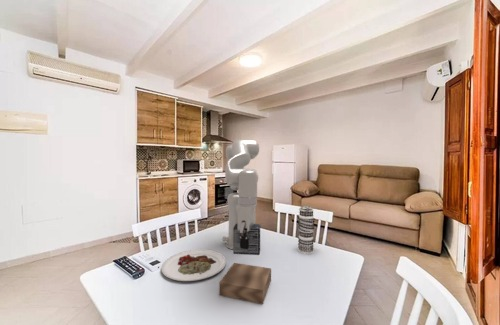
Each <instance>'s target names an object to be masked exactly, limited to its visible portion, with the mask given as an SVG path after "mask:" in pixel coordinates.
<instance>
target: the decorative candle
mask: <svg viewBox="0 0 500 325" xmlns="http://www.w3.org/2000/svg"><path fill="white" fill-rule="evenodd" d="M298 210H299V211H298V212H299V214H298V216H297V219H298V220H297V222H298V223H297V225H298V229H297V230H298V238H297V239H298V244H297V245H298V246H297V249H298V252H299V253H301V254H305V255H311V254H313V253H314V231H315V230H314V229H315V227H314V226H315V224H314V223H315V220H316V219H315V218H314V211H315V210H314V209H313V208H312V207H311V206H308V205H303V206H301V207H299V209H298Z"/></svg>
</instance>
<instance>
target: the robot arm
mask: <svg viewBox="0 0 500 325" xmlns="http://www.w3.org/2000/svg"><path fill="white" fill-rule="evenodd" d="M259 153H260V146H259V143H258V141H257V140H254V139H236V140H235V141H234V142H233V143H232V144H230V145H228V146H226V148H225V157H226V161H227V162H226V164H225V168H224V175H225V177H224V178H225V182H226V184H227V185H228V186H229V187H230V189H231V190H232V191H238V192H231V193H229V195H228V194H227V195H228V196H227V200H226V202H227V207H228V208H227V209H228V236H223V237H222V242H226V243H225V247H226V248H228V249H230V250H234V248H233V245H234V242H233V241H234V230H233V228H234V226H235V224H238V227H237V229H238V231H240V248H242V249H248V247H249V239H248V232H249V231H250V229H251V227H252V226H253V225H254V224H256V207H257V205H258V182H259V181H258V180H259V173H258V172H257V170H256V169H253V168H245V167H246V166H248V165H249V164H250V162H251V160H254V159H256V158H257V156H258V155H259ZM244 229H247V230H244ZM244 232H246V234H245V233H244Z"/></svg>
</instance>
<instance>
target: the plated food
mask: <svg viewBox="0 0 500 325" xmlns="http://www.w3.org/2000/svg"><path fill="white" fill-rule="evenodd" d="M226 264H227V259H226V257H225V256H224V254H222V253H221V252H218V251H215V250H211V249H190V250H186V251H182V252H179V253H176V254H174V255H171V256H170V257H168V258H167V259H166V260H164V262H163V263H162V265H161V268H160V271H161V273H162V275H164V276H165V277H167V278H168V279H171V280H174V281H178V282H194V281H200V280H205V279H208V278H211V277H213V276H215V275H217V274H219V273H220V272H221V271H222V270H223V269H224V268H225V267H226V266H227V265H226Z"/></svg>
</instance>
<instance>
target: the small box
mask: <svg viewBox="0 0 500 325" xmlns="http://www.w3.org/2000/svg"><path fill="white" fill-rule="evenodd" d="M237 227H238V224H235V226H234V228H233V230H234V241H233V242H234V245H233V248H234V249H232V250H233V252H232V255H247V256H248V255H249V256H252V255H253V256H259V255H260V254H261V224H260V223H255V224H254V225H253V226H252V227H251V229H250V231H249V232H248V239H249V247H248V249H242V248H240V231H238V229H237ZM244 230H247V229H244ZM244 233H245V234H246V232H244Z"/></svg>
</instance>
